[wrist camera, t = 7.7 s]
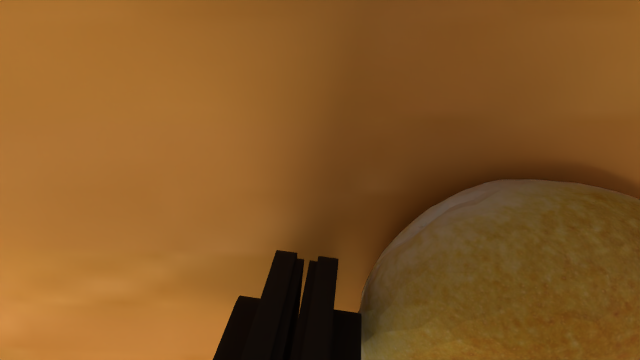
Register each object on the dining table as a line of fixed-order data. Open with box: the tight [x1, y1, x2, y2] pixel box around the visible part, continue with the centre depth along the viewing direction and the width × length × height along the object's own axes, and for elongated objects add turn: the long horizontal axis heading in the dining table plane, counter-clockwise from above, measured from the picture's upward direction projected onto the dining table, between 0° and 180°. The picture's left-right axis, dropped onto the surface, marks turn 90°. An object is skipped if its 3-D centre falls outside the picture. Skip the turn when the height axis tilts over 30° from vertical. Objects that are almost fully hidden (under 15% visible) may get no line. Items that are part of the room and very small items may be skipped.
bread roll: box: [358, 179, 640, 360], centre depth 10 cm, size 8×9×4 cm
